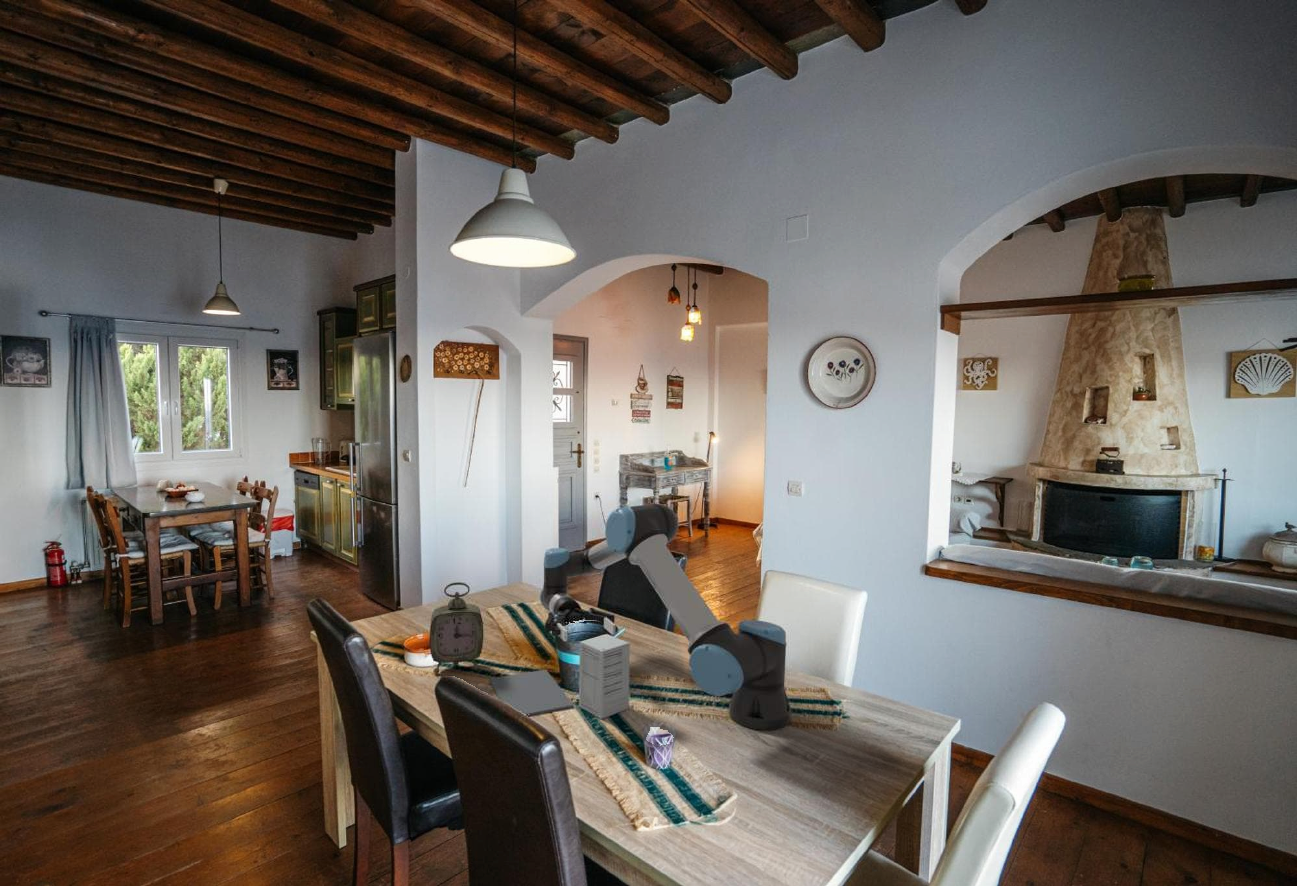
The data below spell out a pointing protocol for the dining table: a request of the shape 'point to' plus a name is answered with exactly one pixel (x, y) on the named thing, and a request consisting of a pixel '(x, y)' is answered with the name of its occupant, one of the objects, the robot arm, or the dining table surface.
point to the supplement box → (604, 675)
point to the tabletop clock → (456, 631)
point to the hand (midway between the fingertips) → (590, 633)
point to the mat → (531, 692)
